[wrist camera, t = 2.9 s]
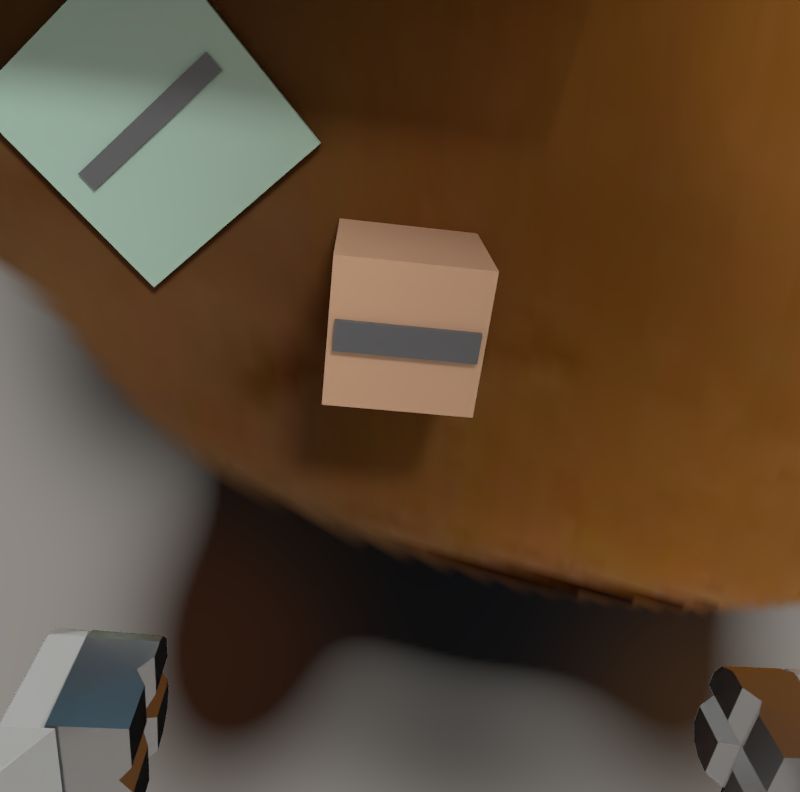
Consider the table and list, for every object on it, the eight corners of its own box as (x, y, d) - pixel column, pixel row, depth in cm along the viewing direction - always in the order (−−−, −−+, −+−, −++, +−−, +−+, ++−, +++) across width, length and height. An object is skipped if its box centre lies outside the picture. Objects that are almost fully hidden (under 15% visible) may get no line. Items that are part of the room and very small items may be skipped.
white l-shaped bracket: (615, -102, 22) (687, -144, 17) (507, 421, 30) (535, 497, 25) (-154, -219, 20) (-326, -306, 15) (-54, 372, 28) (-145, 443, 23)
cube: (477, 232, 26) (500, 273, 22) (456, 358, 28) (473, 420, 24) (339, 217, 26) (332, 256, 21) (329, 347, 28) (321, 407, 23)
